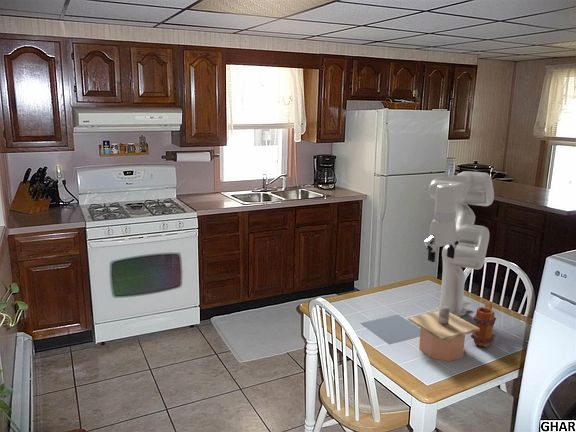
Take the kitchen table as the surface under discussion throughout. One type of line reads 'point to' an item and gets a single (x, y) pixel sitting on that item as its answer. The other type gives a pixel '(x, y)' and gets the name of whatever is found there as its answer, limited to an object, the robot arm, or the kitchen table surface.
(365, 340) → the kitchen table surface
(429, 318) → the lid
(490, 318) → the mug
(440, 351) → the bowl
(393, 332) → the mat
